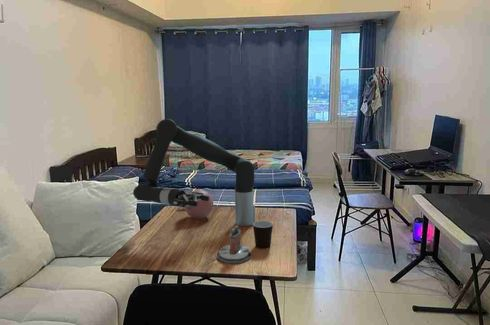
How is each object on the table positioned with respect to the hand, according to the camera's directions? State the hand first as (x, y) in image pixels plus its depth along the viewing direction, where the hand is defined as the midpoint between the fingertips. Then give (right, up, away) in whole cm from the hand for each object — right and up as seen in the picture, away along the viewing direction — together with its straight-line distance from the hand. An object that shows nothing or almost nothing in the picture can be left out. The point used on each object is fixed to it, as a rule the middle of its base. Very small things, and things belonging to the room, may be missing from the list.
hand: (202, 201), depth 158 cm
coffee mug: (+26, -20, +6) cm, 34 cm away
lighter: (+14, -20, -5) cm, 25 cm away
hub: (+13, -22, -5) cm, 26 cm away
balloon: (-8, -14, +42) cm, 45 cm away
